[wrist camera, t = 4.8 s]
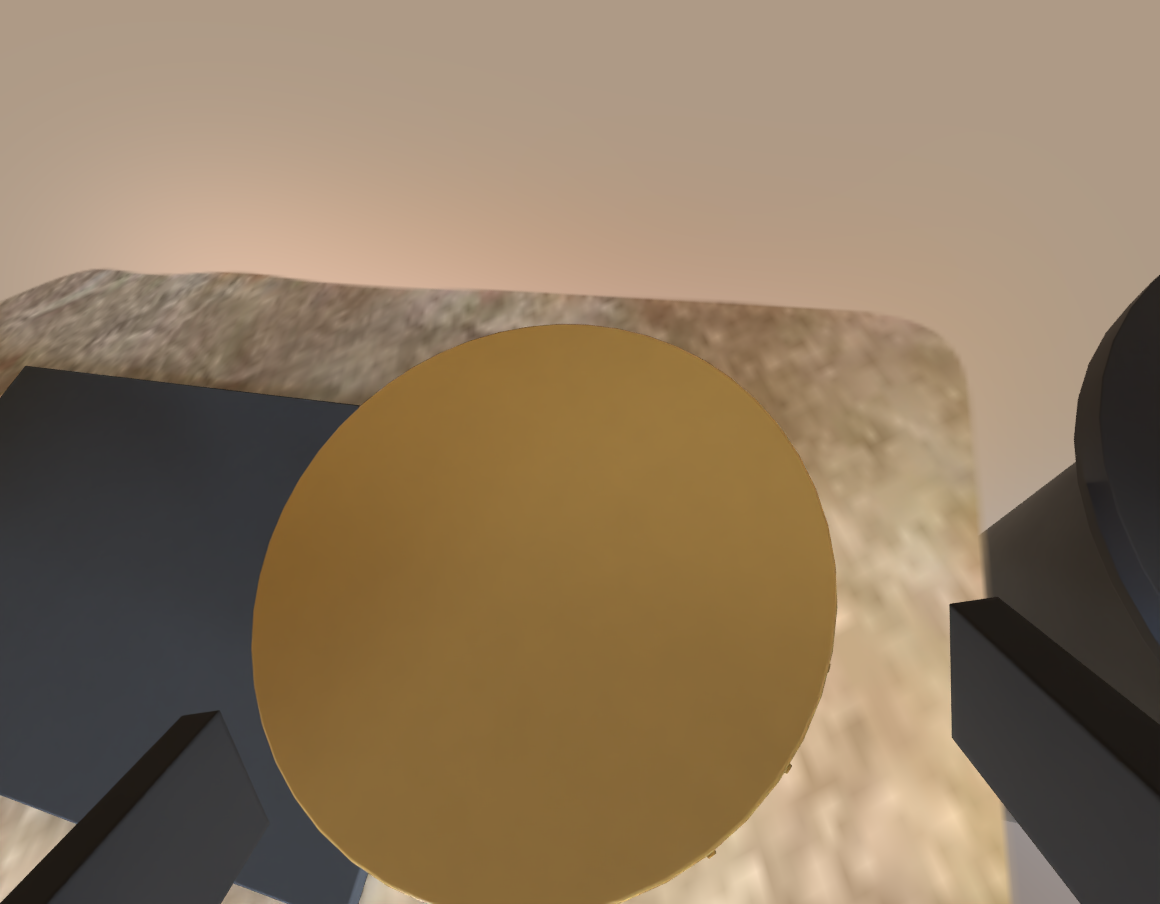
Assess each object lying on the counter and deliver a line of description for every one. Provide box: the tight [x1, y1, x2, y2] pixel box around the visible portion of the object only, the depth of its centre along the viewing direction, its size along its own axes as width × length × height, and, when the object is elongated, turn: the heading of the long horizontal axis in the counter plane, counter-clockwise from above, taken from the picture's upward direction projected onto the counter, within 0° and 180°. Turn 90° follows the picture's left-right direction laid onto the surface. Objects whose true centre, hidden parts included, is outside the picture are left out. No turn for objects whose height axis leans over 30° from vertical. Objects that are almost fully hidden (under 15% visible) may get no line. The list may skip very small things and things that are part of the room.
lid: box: [251, 324, 837, 904], centre depth 8 cm, size 8×8×2 cm
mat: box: [0, 366, 368, 904], centre depth 22 cm, size 26×16×1 cm, turn 77°
